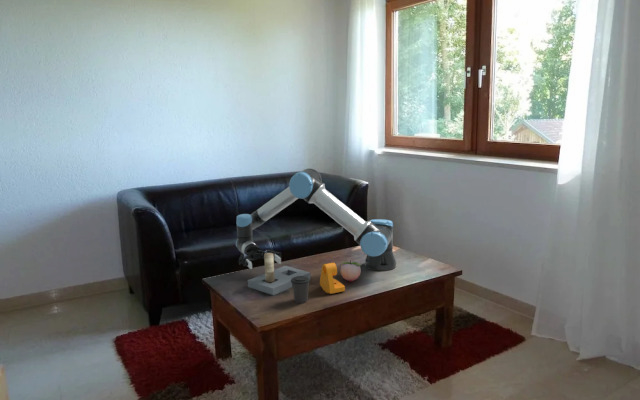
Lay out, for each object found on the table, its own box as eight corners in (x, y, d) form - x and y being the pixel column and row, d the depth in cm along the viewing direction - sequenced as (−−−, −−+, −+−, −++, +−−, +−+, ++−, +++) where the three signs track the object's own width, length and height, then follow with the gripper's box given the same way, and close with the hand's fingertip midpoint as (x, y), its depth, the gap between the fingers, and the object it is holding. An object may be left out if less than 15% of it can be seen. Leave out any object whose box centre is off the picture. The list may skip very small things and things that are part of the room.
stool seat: (285, 271, 232) (285, 265, 232) (310, 278, 222) (310, 272, 221) (247, 286, 214) (247, 280, 214) (273, 295, 204) (273, 288, 203)
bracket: (345, 292, 206) (345, 265, 203) (330, 295, 203) (329, 268, 200) (334, 284, 215) (334, 258, 213) (319, 286, 212) (319, 260, 210)
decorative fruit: (340, 285, 214) (340, 263, 212) (340, 278, 222) (340, 257, 220) (361, 285, 213) (361, 263, 211) (360, 278, 221) (360, 257, 219)
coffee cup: (313, 302, 196) (313, 279, 194) (294, 306, 193) (293, 282, 191) (307, 295, 203) (306, 272, 201) (288, 298, 201) (288, 275, 199)
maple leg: (277, 286, 214) (275, 253, 211) (270, 289, 211) (268, 256, 208) (270, 284, 217) (268, 252, 214) (263, 287, 213) (261, 254, 210)
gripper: (275, 254, 239) (292, 267, 221) (226, 262, 229) (239, 276, 210) (275, 239, 238) (291, 251, 219) (225, 247, 227) (238, 260, 209)
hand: (266, 263), depth 215 cm, fingers open, 13 cm apart
